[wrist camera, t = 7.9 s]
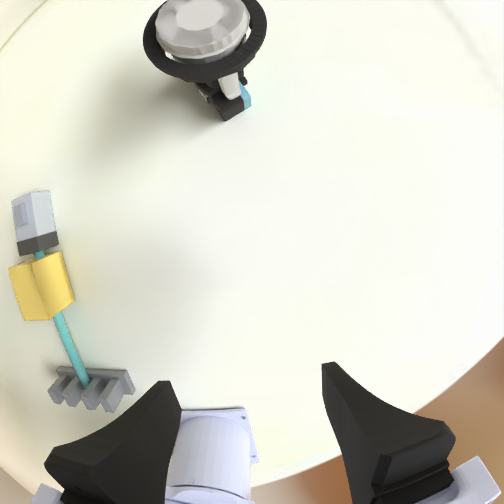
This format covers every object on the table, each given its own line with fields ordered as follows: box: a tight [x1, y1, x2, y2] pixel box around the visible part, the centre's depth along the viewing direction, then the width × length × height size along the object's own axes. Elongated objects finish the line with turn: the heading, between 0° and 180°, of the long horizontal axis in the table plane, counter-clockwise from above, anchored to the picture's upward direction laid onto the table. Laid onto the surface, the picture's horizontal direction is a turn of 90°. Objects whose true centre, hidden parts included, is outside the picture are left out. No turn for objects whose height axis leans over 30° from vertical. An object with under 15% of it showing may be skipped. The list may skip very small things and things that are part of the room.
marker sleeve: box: [8, 251, 75, 321], centre depth 18 cm, size 4×3×4 cm
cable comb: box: [48, 367, 135, 413], centre depth 21 cm, size 2×9×4 cm, turn 98°
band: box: [17, 231, 59, 256], centre depth 19 cm, size 1×3×3 cm, turn 98°
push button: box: [143, 0, 267, 121], centre depth 13 cm, size 7×5×10 cm
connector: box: [11, 191, 56, 242], centre depth 18 cm, size 4×3×3 cm
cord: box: [34, 250, 91, 388], centre depth 20 cm, size 16×1×1 cm, turn 8°
